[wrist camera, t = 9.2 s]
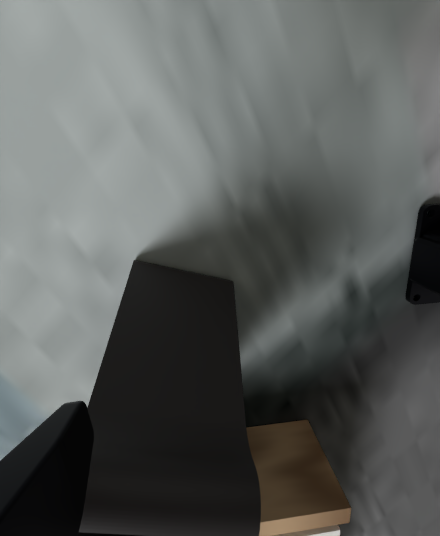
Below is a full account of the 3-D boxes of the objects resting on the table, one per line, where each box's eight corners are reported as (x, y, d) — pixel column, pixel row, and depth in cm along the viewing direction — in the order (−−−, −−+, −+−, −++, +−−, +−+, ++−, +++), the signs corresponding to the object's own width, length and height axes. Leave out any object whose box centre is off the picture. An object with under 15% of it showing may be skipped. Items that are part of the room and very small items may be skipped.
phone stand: (134, 257, 19) (67, 407, 7) (233, 279, 20) (304, 437, 9) (108, 385, 21) (28, 643, 10) (197, 398, 22) (215, 641, 11)
